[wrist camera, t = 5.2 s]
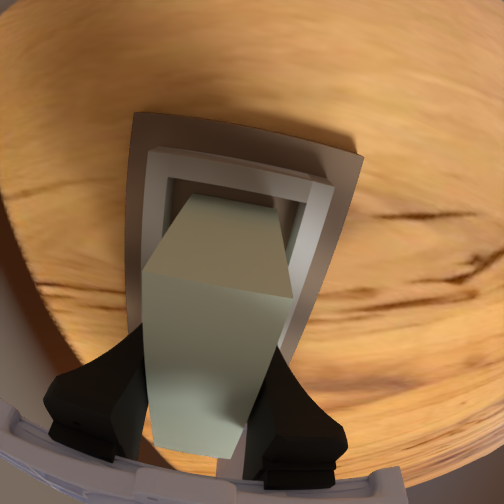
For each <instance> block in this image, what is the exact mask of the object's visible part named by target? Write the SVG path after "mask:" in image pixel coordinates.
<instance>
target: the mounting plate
mask: <svg viewBox="0 0 504 504" xmlns="http://www.w3.org/2000/svg"><path fill="white" fill-rule="evenodd" d="M363 160H364V157H363V156H361V155H359V154H357V153H353V152H350V151H347V150H343V149H340V148H337V147H333V146H330V145H326V144H322V143H319V142H315V141H311V140H307V139H303V138H299V137H295V136H291V135H287V134H282V133H278V132H273V131H269V130H264V129H259V128H254V127H249V126H244V125H238V124H233V123H227V122H221V121H215V120H208V119H201V118H194V117H187V116H179V115H170V114H160V113H150V112H135V113H134V117H133V124H132V132H131V140H130V150H129V160H128V172H127V187H126V206H125V287H126V306H127V321H128V333H129V334H130V333H131V332H133V331H134V330H135V329H136V328H137V327H138V326H139V325H140V324H141V323H142V322H143V317H142V270H143V268H144V267H145V265H146V263H147V262H148V260H149V259H150V257H151V255H152V254H153V252H154V251H155V249H156V247H157V246H158V244H159V243H160V241H161V240H162V238H163V237H164V235H165V233H166V232H167V230H168V229H169V227H170V226H171V224H172V223H173V221H174V220H175V218H176V217H177V215H178V214H179V212H180V211H181V209H182V208H183V206H184V205H185V204H186V202H187V201H188V199H189V198H190V196H191V195H192V193H195V194H200V195H206V196H212V197H217V198H223V199H228V200H233V201H239V202H244V203H249V204H254V205H259V206H264V207H269V208H274V209H277V213H278V218H279V223H280V228H281V233H282V238H283V244H284V249H285V254H286V260H287V265H288V270H289V276H290V282H291V287H292V293H293V302H292V305H291V308H290V310H289V313H288V316H287V319H286V322H285V324H284V327H283V330H282V333H281V335H280V338H279V341H278V343H277V345H278V347H279V349H280V351H281V353H282V355H283V357H284V359H285V361H286V363H287V365H289V363H290V361H291V359H292V356H293V354H294V352H295V349H296V347H297V345H298V343H299V340H300V338H301V335H302V333H303V331H304V328H305V326H306V323H307V321H308V319H309V316H310V314H311V311H312V309H313V306H314V304H315V301H316V299H317V296H318V293H319V291H320V288H321V286H322V283H323V280H324V278H325V275H326V272H327V270H328V267H329V264H330V262H331V259H332V256H333V253H334V250H335V248H336V245H337V242H338V239H339V236H340V233H341V230H342V227H343V224H344V221H345V218H346V215H347V212H348V209H349V206H350V203H351V200H352V197H353V194H354V190H355V187H356V184H357V181H358V177H359V174H360V171H361V167H362V164H363Z"/></svg>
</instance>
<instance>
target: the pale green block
mask: <svg viewBox="0 0 504 504" xmlns="http://www.w3.org/2000/svg"><path fill="white" fill-rule="evenodd" d="M292 302H293V293H292V287H291V282H290V276H289V270H288V265H287V260H286V254H285V249H284V244H283V238H282V233H281V228H280V223H279V218H278V213H277V209H274V208H269V207H264V206H259V205H254V204H249V203H244V202H239V201H233V200H228V199H223V198H217V197H212V196H206V195H200V194H195V193H192V195H191V196H190V198H189V199H188V201H187V202H186V204H185V205H184V206H183V208H182V209H181V211H180V212H179V214H178V215H177V217H176V218H175V220H174V221H173V223H172V224H171V226H170V227H169V229H168V230H167V232H166V233H165V235H164V237H163V238H162V240H161V241H160V243H159V244H158V246H157V247H156V249H155V251H154V252H153V254H152V255H151V257H150V259H149V260H148V262H147V263H146V265H145V267H144V268H143V270H142V317H143V341H144V358H145V371H146V383H147V393H148V402H149V411H150V418H151V426H152V433H153V440H154V446H156V447H161V448H165V449H170V450H175V451H180V452H185V453H190V454H196V455H202V456H209V457H216V458H224V459H231V457H232V454H233V452H234V450H235V448H236V445H237V443H238V441H239V438H240V436H241V434H242V431H243V429H244V427H245V424H246V422H247V420H248V417H249V415H250V412H251V410H252V408H253V405H254V403H255V400H256V398H257V395H258V393H259V390H260V388H261V385H262V383H263V380H264V378H265V375H266V372H267V370H268V367H269V365H270V362H271V359H272V357H273V354H274V352H275V349H276V346H277V343H278V341H279V338H280V335H281V333H282V330H283V327H284V324H285V322H286V319H287V316H288V313H289V310H290V308H291V305H292Z"/></svg>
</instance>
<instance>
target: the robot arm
mask: <svg viewBox="0 0 504 504" xmlns="http://www.w3.org/2000/svg"><path fill="white" fill-rule="evenodd" d="M43 402H44V405H45V407H46V409H47V411H48V412H49V414H50V415H51V417H52V419H53V420H54V421H53V423H52V425H51V428H50V430H49V429H47V428H45V427H42V426H40V425H38V424H36V423H34V422H32V421H30V420H29V419H27V418H25V417H23V416H21V415H20V413H19V411H18V410H17V409H16V408H15V407H14V406H13V405H12V404H10V403H8V402H6V401H5V400H3V399H2V398H0V457H1V458H2V459H4V460H6V461H7V462H9V463H10V464H12V465H14V466H15V467H17V468H18V469H20V470H22V471H23V472H25V473H27V474H28V475H30V476H32V477H34V478H35V479H37V480H39V481H41V482H43V483H44V484H46V485H48V486H50V487H52V488H54V489H56V490H58V491H60V492H62V493H64V494H66V495H68V496H71V497H72V498H75V499H77V500H79V501H81V502H84V503H86V504H409V503H408V499H407V494H406V490H405V486H404V482H403V478H402V474H401V470H400V467H399V466H395V467H389V468H383V469H379V470H376V471H374V472H372V473H371V474H370V475H369V476H365V477H357V478H349V479H338V480H335V475H334V470H335V469H336V462H335V461H336V460H337V459H338V458H340V457H341V456H342V455H343V454H344V453H345V452H346V450H347V449H348V443H347V438H346V435H345V432H344V429H343V427H342V426H341V425H340V424H339V423H337V422H336V421H335V420H333V419H332V418H331V417H330V416H328V415H327V414H326V413H325V412H324V411H323V410H322V409H321V408H320V407H319V406H318V405H317V404H316V403H315V402H314V401H313V400H312V399H311V398H310V396H309V395H308V394H307V393H306V392H305V390H304V389H303V388H302V386H301V385H300V384H299V382H298V381H297V379H296V378H295V376H294V375H293V373H292V372H291V370H290V368H289V367H288V365H287V363H286V361H285V359H284V357H283V355H282V353H281V351H280V349H279V347H278V345H277V346H276V349H275V352H274V354H273V357H272V359H271V362H270V365H269V367H268V370H267V372H266V375H265V378H264V380H263V383H262V385H261V388H260V390H259V393H258V395H257V398H256V400H255V403H254V405H253V408H252V410H251V412H250V415H249V417H248V420H247V423H246V424H245V427H244V429H243V431H242V434H241V436H240V438H239V441H238V443H237V445H236V448H235V450H234V452H233V454H232V457H231V459H224V458H217V468H216V477H212V476H205V475H198V474H192V473H186V472H181V471H175V470H171V469H165V468H161V467H157V466H153V465H149V464H145V463H141V462H137V460H138V454H139V447H140V441H141V436H142V431H143V426H144V421H145V416H146V412H147V408H148V403H149V402H148V393H147V383H146V371H145V358H144V341H143V322H142V323H141V324H140V325H139V326H138V327H137V328H136V329H135V330H134V331H133V332H131V333H130V334H129V335H128V336H127V337H126V338H125V339H123V340H122V341H121V342H120V343H118V344H117V345H116V346H115V347H113V348H112V349H110V350H109V351H108V352H106V353H104V354H103V355H101V356H100V357H98V358H96V359H95V360H93V361H91V362H89V363H87V364H85V365H83V366H81V367H79V368H77V369H75V370H72V371H69V372H67V373H64V374H61V375H58V376H56V378H55V379H54V381H53V382H52V383H51V385H50V387H49V388H48V391H47V393H46V394H45V396H44V398H43ZM213 458H216V457H213Z"/></svg>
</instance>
